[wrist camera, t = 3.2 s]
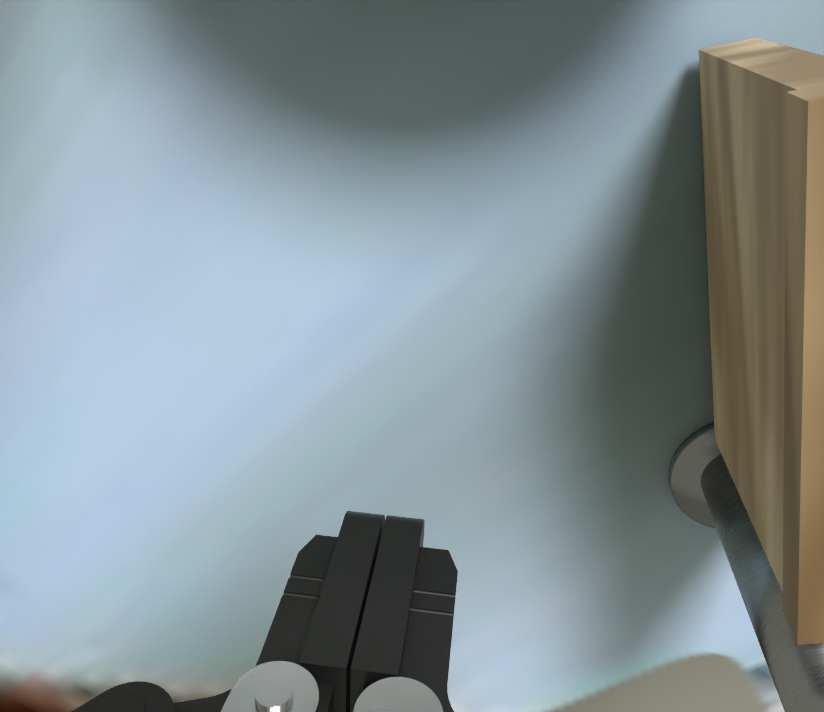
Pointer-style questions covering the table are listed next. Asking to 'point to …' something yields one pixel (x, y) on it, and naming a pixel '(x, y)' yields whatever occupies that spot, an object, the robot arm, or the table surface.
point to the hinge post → (747, 568)
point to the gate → (769, 301)
